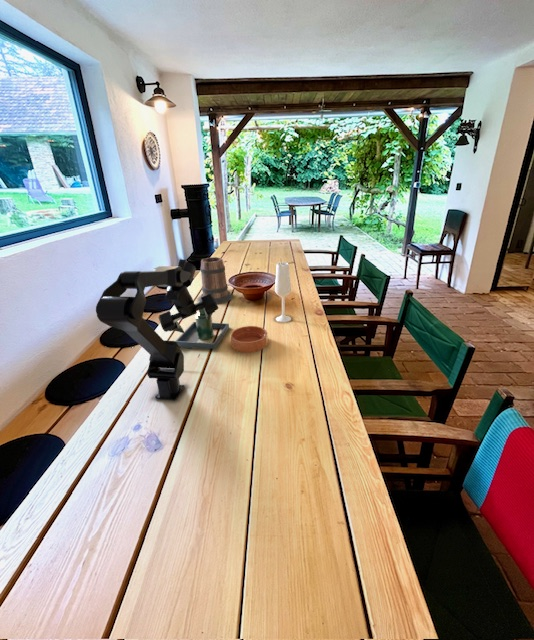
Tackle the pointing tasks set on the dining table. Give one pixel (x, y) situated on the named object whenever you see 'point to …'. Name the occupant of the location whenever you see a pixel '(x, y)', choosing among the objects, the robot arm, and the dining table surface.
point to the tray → (191, 337)
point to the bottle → (204, 326)
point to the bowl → (249, 339)
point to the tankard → (214, 279)
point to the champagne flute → (283, 287)
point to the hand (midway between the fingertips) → (195, 326)
